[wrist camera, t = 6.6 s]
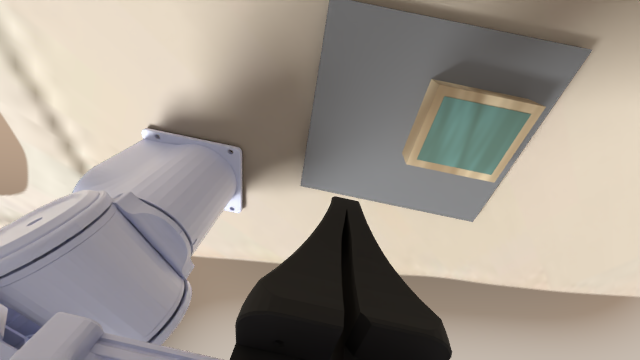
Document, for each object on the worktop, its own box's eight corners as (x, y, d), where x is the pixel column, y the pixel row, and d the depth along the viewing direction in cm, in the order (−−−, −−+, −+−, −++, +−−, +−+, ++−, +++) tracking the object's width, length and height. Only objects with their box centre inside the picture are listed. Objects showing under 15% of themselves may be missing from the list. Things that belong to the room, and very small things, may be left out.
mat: (301, 181, 25) (300, 185, 24) (330, -3, 16) (330, -4, 16) (469, 216, 25) (472, 221, 24) (582, 48, 16) (592, 49, 16)
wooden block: (406, 164, 19) (494, 183, 19) (439, 85, 16) (546, 107, 16) (401, 153, 21) (483, 169, 21) (431, 78, 18) (527, 98, 18)
